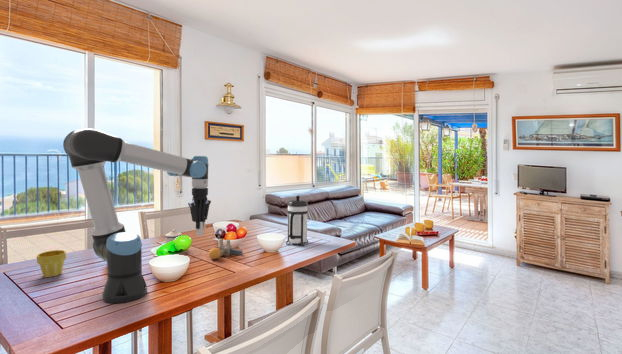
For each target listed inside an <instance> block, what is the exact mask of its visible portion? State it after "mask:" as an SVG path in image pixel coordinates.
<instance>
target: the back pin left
mask: <svg viewBox="0 0 622 354" xmlns="http://www.w3.org/2000/svg"><path fill="white" fill-rule="evenodd" d="M217 241H218V242H217V244H218V245H217V248H218V249H219V250H220V251H221V250H222V249H223V247H224V239H223V238H218V240H217Z"/></svg>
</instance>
